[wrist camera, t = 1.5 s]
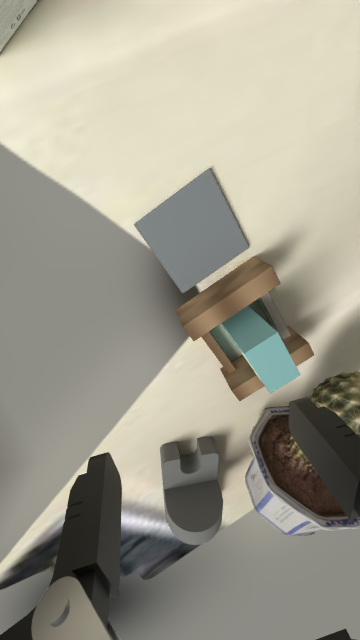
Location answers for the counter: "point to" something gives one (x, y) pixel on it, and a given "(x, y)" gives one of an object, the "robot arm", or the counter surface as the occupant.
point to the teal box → (261, 348)
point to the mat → (193, 232)
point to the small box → (12, 17)
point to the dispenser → (227, 301)
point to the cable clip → (192, 491)
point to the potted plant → (299, 465)
